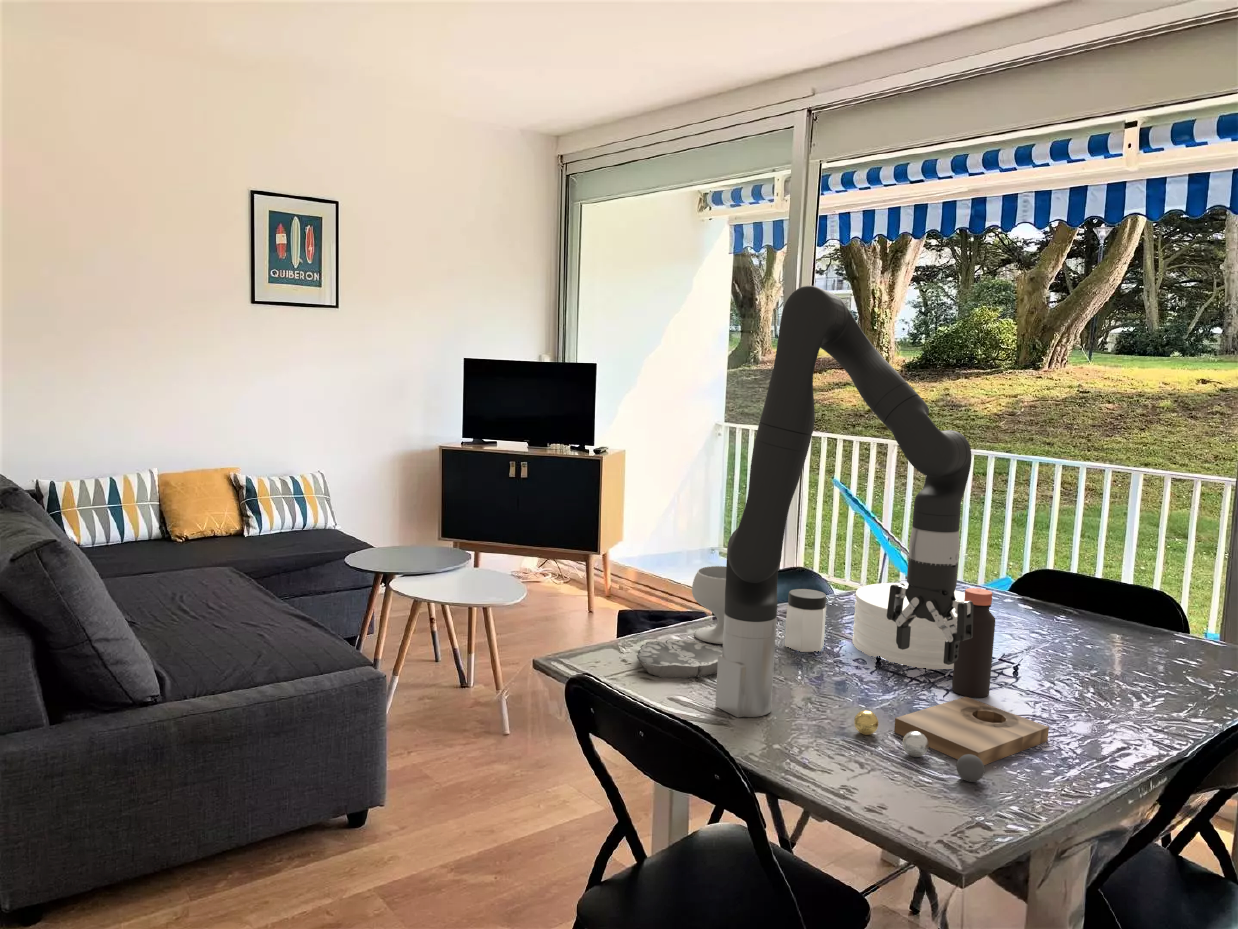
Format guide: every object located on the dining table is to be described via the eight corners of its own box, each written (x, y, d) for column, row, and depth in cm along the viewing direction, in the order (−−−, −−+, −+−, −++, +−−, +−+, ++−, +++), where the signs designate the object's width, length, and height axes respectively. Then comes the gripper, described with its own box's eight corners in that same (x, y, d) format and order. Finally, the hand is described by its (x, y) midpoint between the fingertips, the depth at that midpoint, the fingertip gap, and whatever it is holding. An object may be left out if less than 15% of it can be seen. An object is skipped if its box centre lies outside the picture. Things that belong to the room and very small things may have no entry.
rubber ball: (973, 789, 138) (975, 763, 137) (949, 778, 141) (951, 753, 141) (988, 782, 140) (991, 757, 140) (965, 772, 143) (967, 747, 143)
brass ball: (867, 740, 154) (868, 717, 154) (848, 732, 157) (849, 709, 157) (882, 735, 156) (884, 713, 156) (864, 727, 160) (865, 705, 159)
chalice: (703, 649, 199) (706, 581, 197) (680, 629, 212) (683, 566, 211) (762, 645, 203) (766, 578, 201) (737, 626, 216) (740, 564, 215)
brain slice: (702, 649, 200) (703, 636, 199) (742, 675, 184) (742, 661, 184) (618, 658, 192) (619, 644, 192) (652, 686, 177) (653, 671, 176)
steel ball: (917, 763, 146) (918, 739, 145) (896, 754, 149) (898, 730, 149) (932, 758, 148) (934, 734, 148) (912, 748, 151) (913, 725, 151)
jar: (832, 648, 202) (835, 595, 201) (808, 655, 197) (811, 600, 196) (800, 638, 209) (803, 586, 208) (776, 644, 204) (779, 591, 203)
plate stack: (852, 661, 195) (856, 608, 194) (852, 625, 222) (855, 578, 221) (993, 677, 188) (998, 622, 187) (975, 637, 215) (979, 589, 214)
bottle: (991, 690, 180) (1000, 590, 178) (985, 701, 174) (994, 597, 172) (955, 683, 183) (963, 585, 181) (948, 693, 178) (956, 592, 175)
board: (977, 768, 145) (978, 752, 145) (894, 732, 158) (895, 718, 158) (1047, 741, 157) (1048, 727, 156) (964, 709, 170) (965, 696, 169)
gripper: (881, 550, 150) (874, 647, 151) (959, 568, 138) (951, 673, 140) (909, 546, 154) (903, 640, 156) (987, 563, 143) (979, 664, 145)
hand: (925, 656), depth 148 cm, fingers open, 8 cm apart
